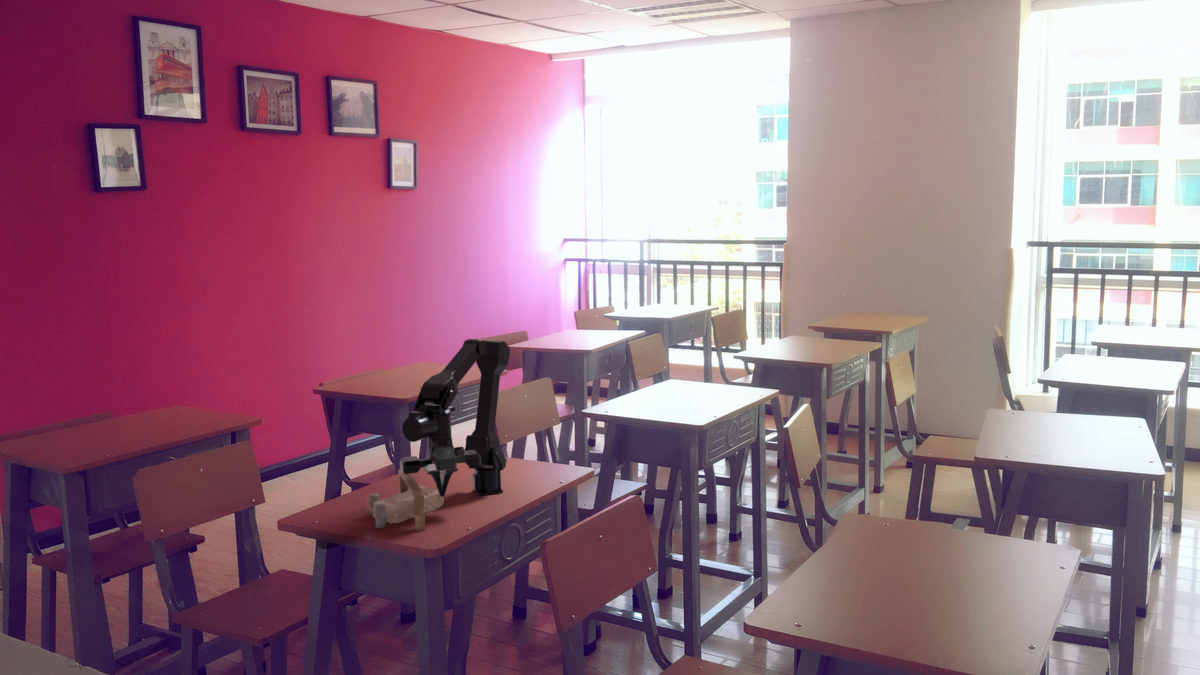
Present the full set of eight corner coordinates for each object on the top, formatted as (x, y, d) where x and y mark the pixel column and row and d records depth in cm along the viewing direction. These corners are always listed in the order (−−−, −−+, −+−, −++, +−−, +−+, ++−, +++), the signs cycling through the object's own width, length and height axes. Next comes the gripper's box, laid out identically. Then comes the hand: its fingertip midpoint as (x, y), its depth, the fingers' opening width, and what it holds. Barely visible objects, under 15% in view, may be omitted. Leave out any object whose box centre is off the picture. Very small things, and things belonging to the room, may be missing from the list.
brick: (395, 525, 217) (394, 505, 217) (371, 519, 222) (370, 500, 222) (445, 507, 231) (445, 489, 230) (421, 502, 236) (421, 484, 235)
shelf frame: (408, 503, 234) (406, 468, 233) (425, 529, 213) (423, 492, 212) (366, 508, 230) (364, 473, 229) (379, 536, 209) (378, 497, 208)
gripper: (405, 444, 213) (409, 510, 214) (485, 435, 219) (488, 500, 221) (397, 434, 223) (401, 497, 225) (474, 426, 230) (476, 488, 231)
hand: (442, 496), depth 225 cm, fingers closed
